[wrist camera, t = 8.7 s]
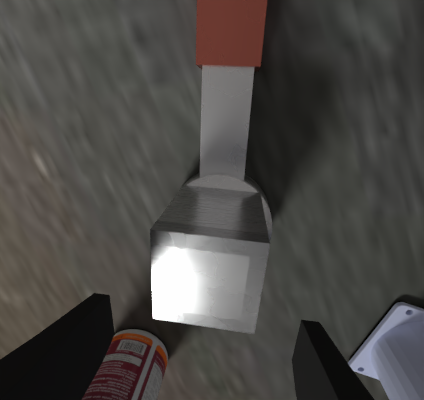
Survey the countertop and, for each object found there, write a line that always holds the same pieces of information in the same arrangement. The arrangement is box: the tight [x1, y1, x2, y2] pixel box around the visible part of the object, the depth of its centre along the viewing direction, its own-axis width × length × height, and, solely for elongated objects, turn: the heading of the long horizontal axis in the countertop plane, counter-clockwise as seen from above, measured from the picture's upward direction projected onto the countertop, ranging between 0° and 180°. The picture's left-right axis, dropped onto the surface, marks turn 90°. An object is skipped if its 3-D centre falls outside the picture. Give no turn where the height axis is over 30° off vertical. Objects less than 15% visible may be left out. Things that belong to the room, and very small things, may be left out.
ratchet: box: [184, 0, 272, 240], centre depth 14 cm, size 19×7×5 cm, turn 178°
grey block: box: [150, 185, 270, 334], centre depth 13 cm, size 5×5×6 cm
